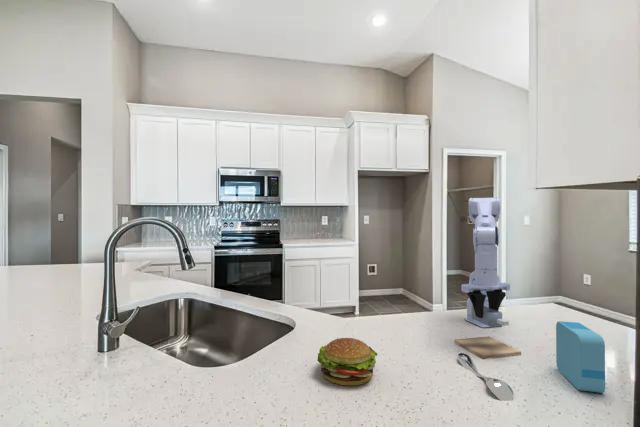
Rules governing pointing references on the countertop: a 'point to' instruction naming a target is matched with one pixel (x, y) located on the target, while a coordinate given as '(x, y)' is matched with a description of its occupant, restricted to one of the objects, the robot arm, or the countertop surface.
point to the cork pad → (487, 347)
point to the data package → (580, 356)
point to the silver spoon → (489, 380)
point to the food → (347, 361)
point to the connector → (490, 317)
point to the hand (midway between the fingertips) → (486, 316)
